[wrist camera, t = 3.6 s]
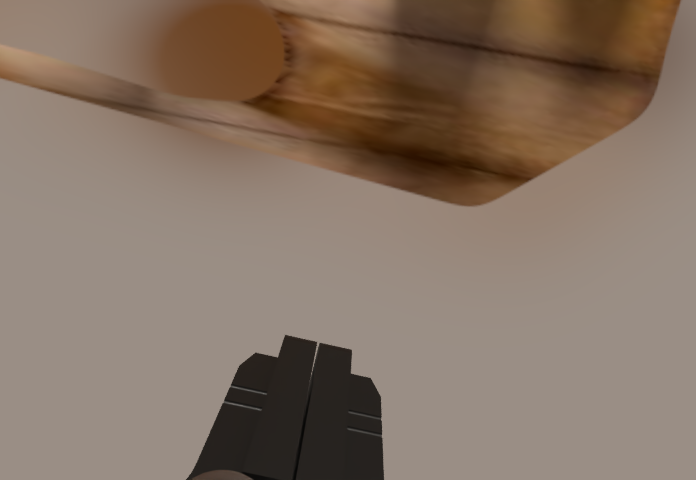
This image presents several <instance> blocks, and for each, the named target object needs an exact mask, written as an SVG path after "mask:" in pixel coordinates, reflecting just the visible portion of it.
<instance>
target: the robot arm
mask: <svg viewBox="0 0 696 480" xmlns="http://www.w3.org/2000/svg"><path fill="white" fill-rule="evenodd" d="M316 346H317V342H315V341H310V340H305V339H301V338H297V337H292V336H288V335H285V337H284V340H283V343H282V347H281V350H280V353H279V356H278V358H277V357H272V356H268V355H264V354H259V353H255V354H253V355H252V356H251V357H250V358H248V359H247V360H246V361H245V362H243V363H242V364H241V365H240V366H239V368H238V370H237V372H236V374H235V377H234V379H233V382H232V384H231V387H230V388H229V390H228V393H227V395H226V397H225V400H224V403H223V404H222V406H221V409H220V411H219V413H218V415H217V418H216V420H215V422H214V425H213V427H212V429H211V431H210V434H209V436H208V438H207V441H206V443H205V445H204V447H203V450H202V452H201V454H200V456H199V459H198V461H197V463H196V466H195V467H194V469H193V471H192V473H191V474H190V475H189V477H188V478H187V479H186V480H384V470H383V444H382V438H381V437H382V421H381V397H380V395H379V393H378V391H377V389H376V387H375V385H374V384H373V382H372V380H371V378H368V377H363V376H358V375H354V374H351V358H352V350H350V349H345V348H341V347H336V346H332V345H328V344H323V343H320V344H319V347H318V351H317V355H316V359H315V363H314V367H313V362H314V356H315V351H316ZM312 367H313V371H312ZM311 372H312V375H311ZM310 377H311V379H310Z"/></svg>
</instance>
